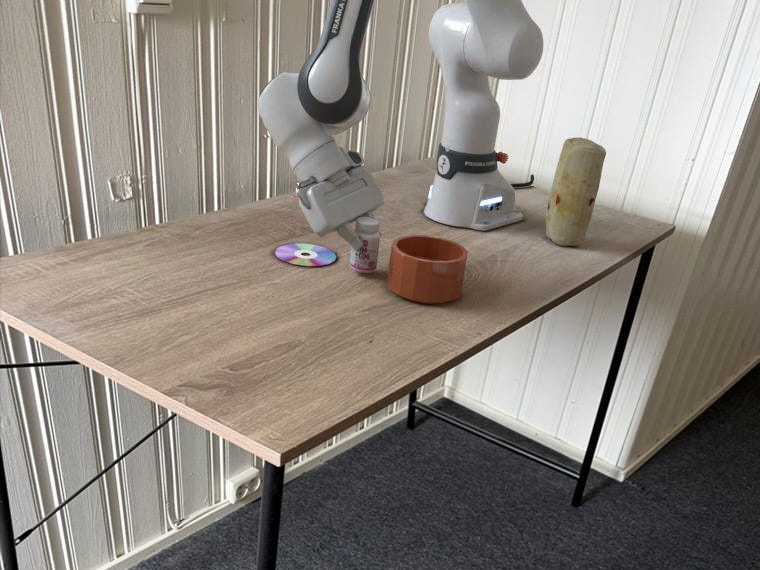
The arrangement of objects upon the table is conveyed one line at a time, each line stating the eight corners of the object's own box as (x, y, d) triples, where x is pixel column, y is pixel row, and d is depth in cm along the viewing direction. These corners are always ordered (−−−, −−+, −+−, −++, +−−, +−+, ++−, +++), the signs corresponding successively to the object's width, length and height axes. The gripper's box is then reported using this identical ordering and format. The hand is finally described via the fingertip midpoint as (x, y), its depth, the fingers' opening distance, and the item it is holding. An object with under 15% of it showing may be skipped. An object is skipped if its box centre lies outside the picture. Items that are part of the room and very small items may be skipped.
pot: (429, 272, 151) (435, 231, 146) (475, 299, 143) (483, 256, 138) (372, 282, 144) (377, 239, 139) (417, 311, 136) (423, 266, 132)
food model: (589, 245, 173) (615, 144, 161) (574, 252, 168) (600, 148, 156) (548, 232, 177) (571, 132, 165) (533, 238, 173) (555, 136, 161)
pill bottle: (352, 272, 144) (356, 224, 139) (347, 262, 148) (351, 215, 143) (378, 273, 145) (384, 225, 140) (373, 263, 149) (378, 216, 144)
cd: (262, 251, 150) (262, 250, 150) (305, 239, 157) (306, 239, 157) (305, 271, 144) (305, 270, 144) (349, 258, 152) (349, 257, 152)
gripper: (304, 173, 131) (352, 249, 134) (364, 151, 146) (407, 220, 149) (279, 195, 135) (326, 269, 138) (340, 171, 150) (382, 238, 153)
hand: (369, 243), depth 144 cm, fingers closed on pill bottle, 5 cm apart
